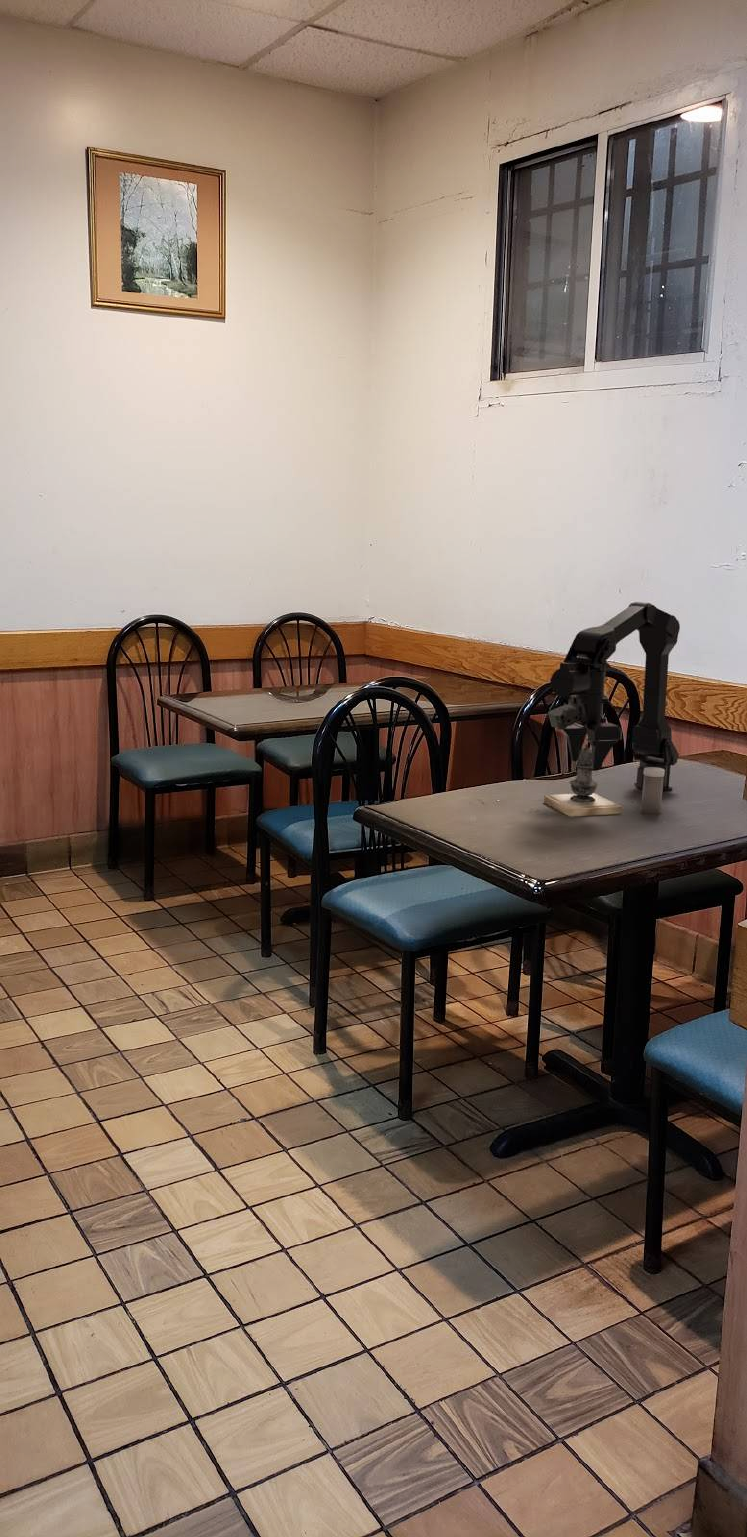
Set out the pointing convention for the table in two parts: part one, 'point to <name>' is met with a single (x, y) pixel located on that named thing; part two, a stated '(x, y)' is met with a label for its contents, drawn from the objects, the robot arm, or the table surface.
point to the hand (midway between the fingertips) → (584, 765)
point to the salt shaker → (584, 778)
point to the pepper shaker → (652, 790)
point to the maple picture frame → (582, 805)
